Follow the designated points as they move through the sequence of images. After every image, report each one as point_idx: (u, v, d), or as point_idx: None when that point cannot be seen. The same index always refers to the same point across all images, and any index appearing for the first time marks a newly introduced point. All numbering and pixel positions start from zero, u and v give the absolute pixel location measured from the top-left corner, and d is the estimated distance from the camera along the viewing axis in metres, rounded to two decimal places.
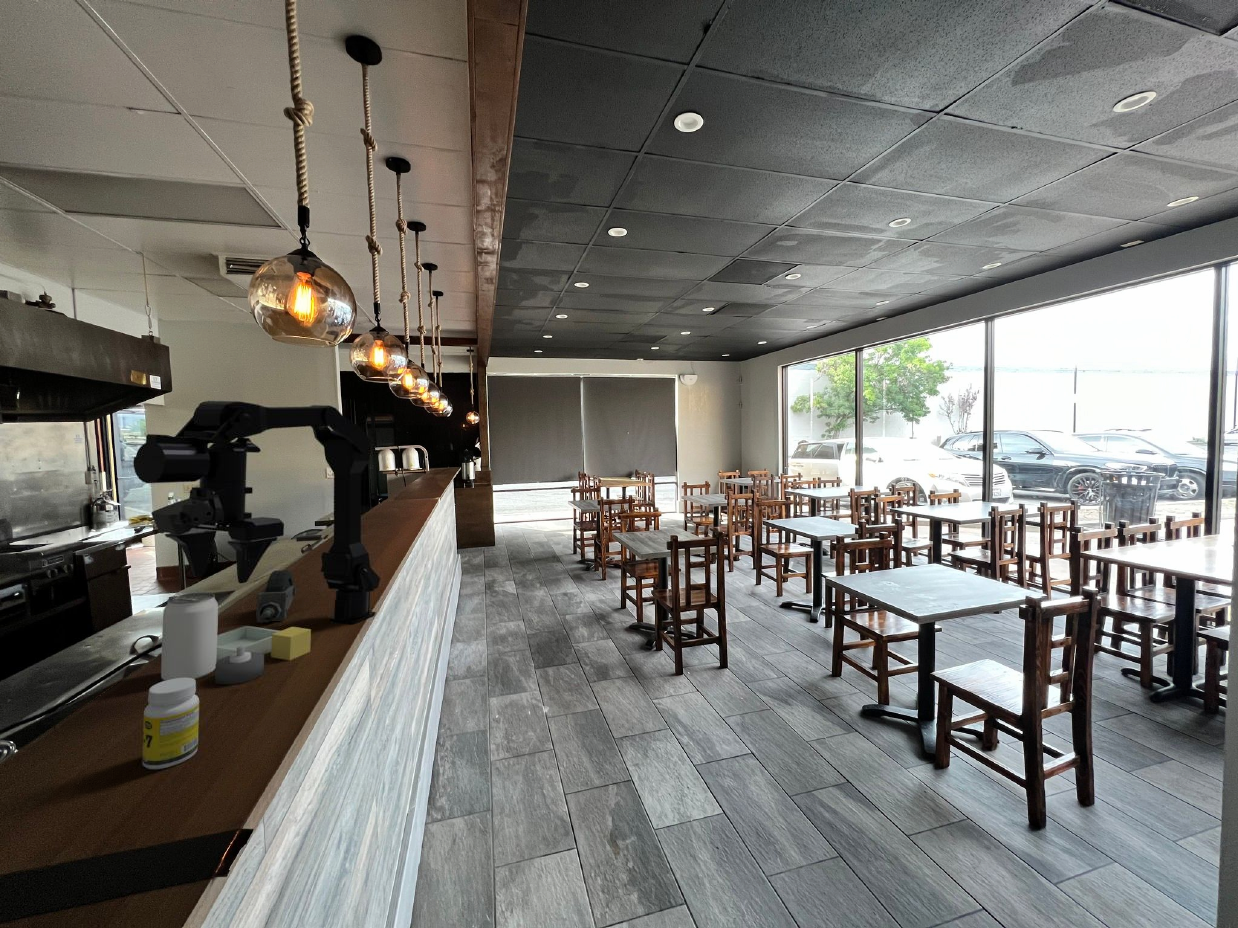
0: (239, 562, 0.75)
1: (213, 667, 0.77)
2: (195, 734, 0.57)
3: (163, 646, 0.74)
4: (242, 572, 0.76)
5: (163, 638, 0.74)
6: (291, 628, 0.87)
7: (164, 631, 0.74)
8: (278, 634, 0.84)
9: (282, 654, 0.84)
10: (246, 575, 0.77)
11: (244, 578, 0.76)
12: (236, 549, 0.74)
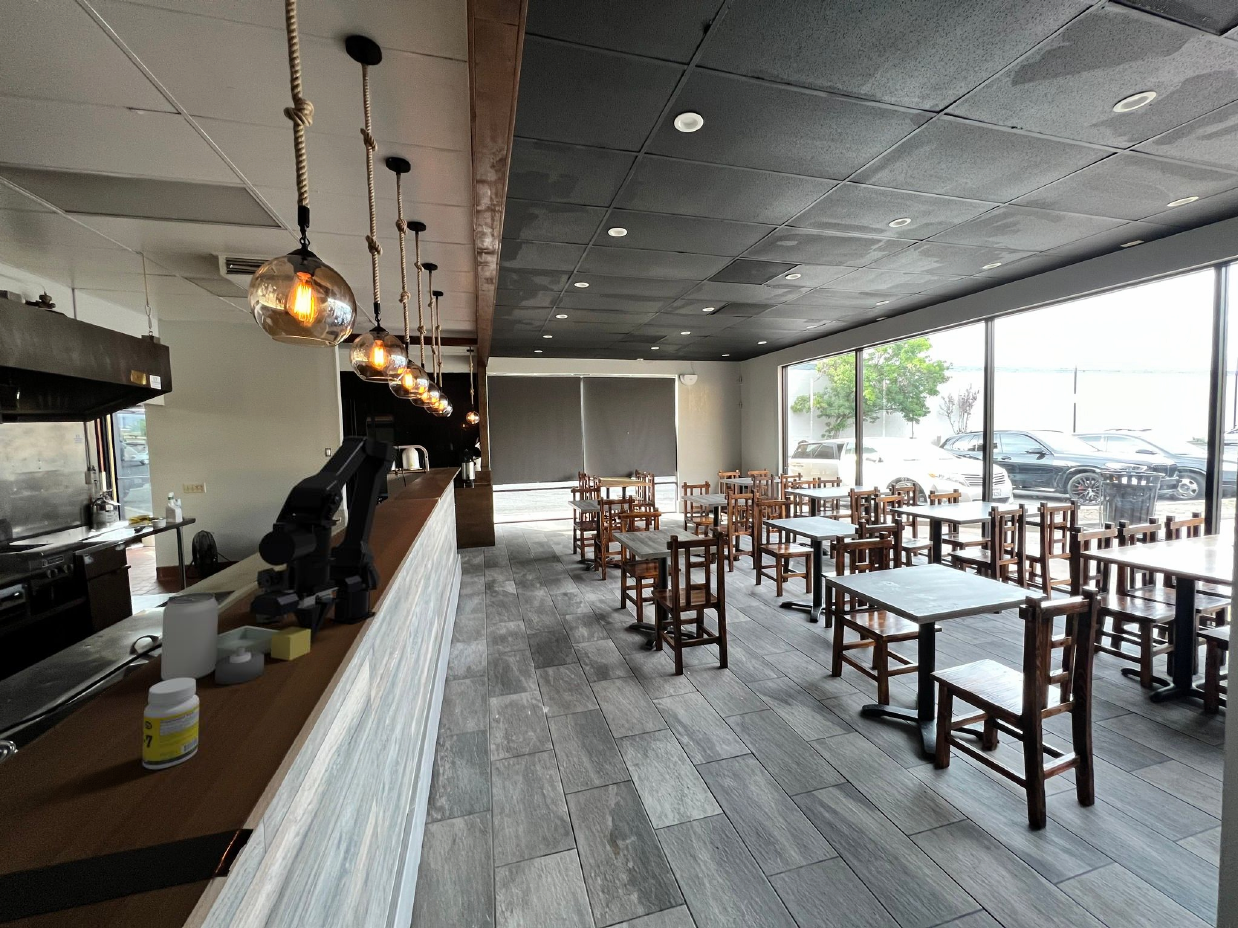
0: None
1: (213, 667, 0.77)
2: (195, 734, 0.57)
3: (163, 646, 0.74)
4: None
5: (163, 638, 0.74)
6: (291, 628, 0.87)
7: (164, 631, 0.74)
8: (278, 634, 0.84)
9: (282, 654, 0.84)
10: None
11: None
12: None
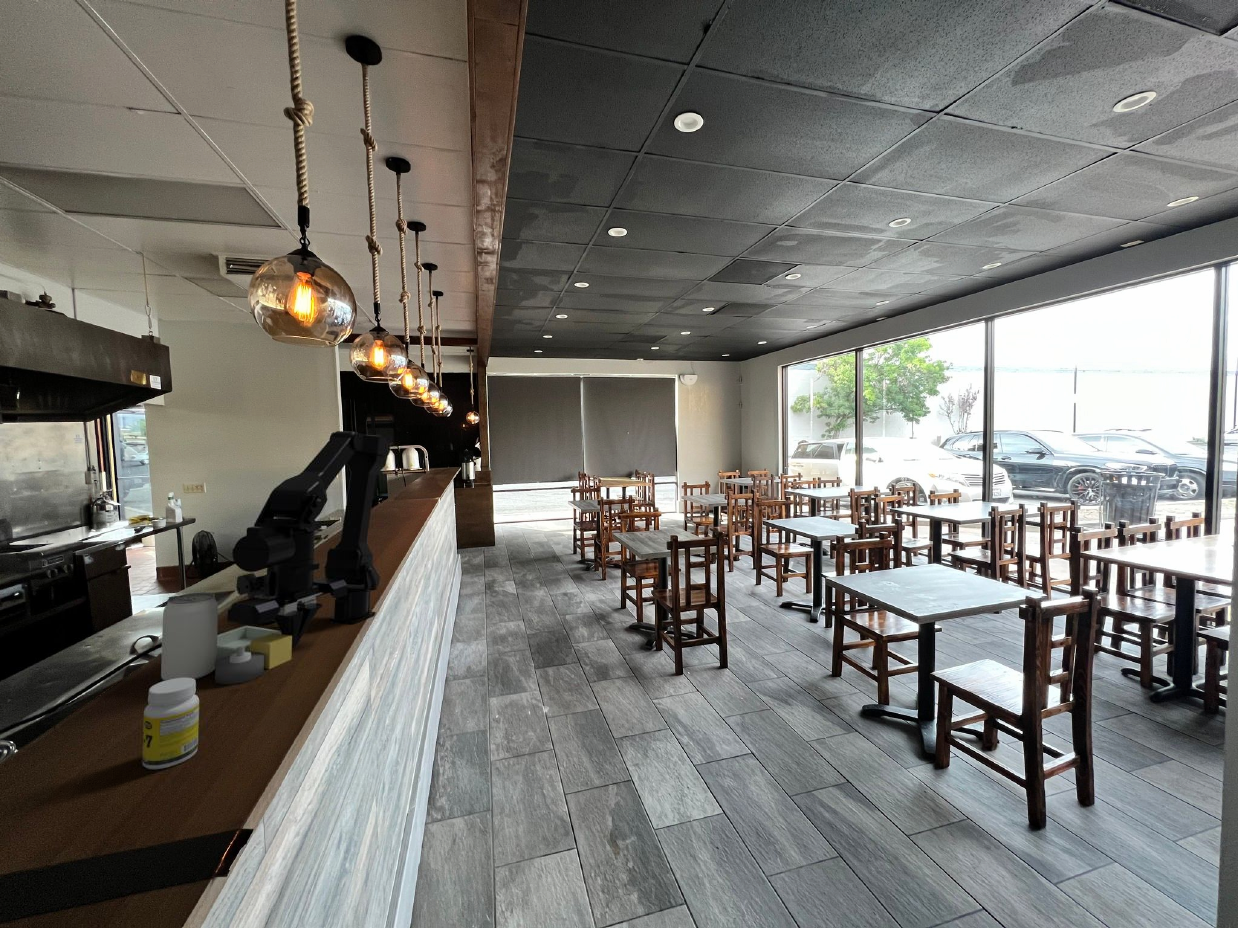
0: None
1: (213, 667, 0.77)
2: (195, 734, 0.57)
3: (163, 646, 0.74)
4: None
5: (163, 638, 0.74)
6: (271, 634, 0.83)
7: (164, 631, 0.74)
8: (257, 641, 0.81)
9: None
10: None
11: None
12: None
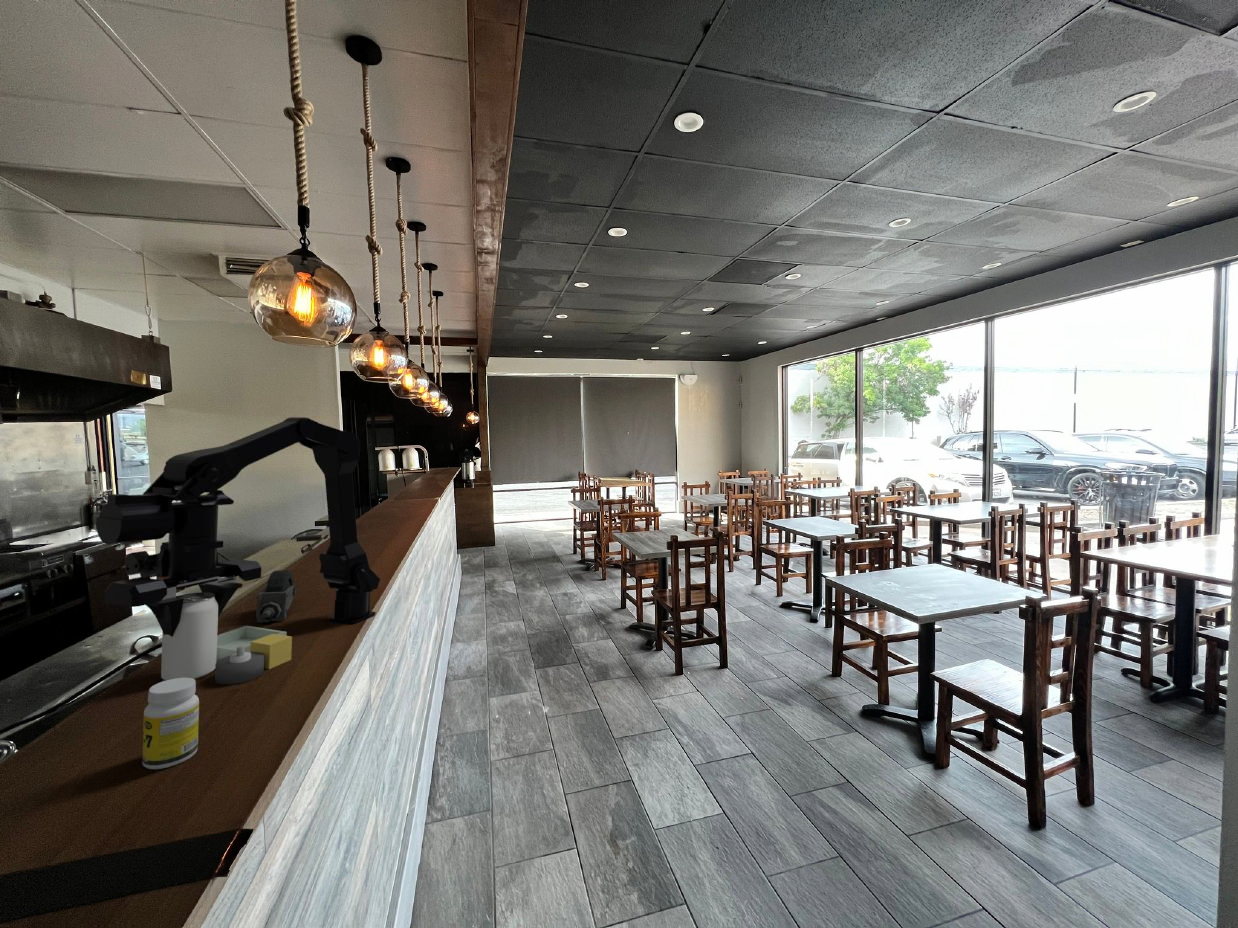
0: None
1: (213, 667, 0.77)
2: (195, 734, 0.57)
3: (163, 646, 0.74)
4: (163, 630, 0.73)
5: (163, 638, 0.74)
6: (271, 635, 0.83)
7: None
8: (257, 642, 0.81)
9: None
10: None
11: None
12: None
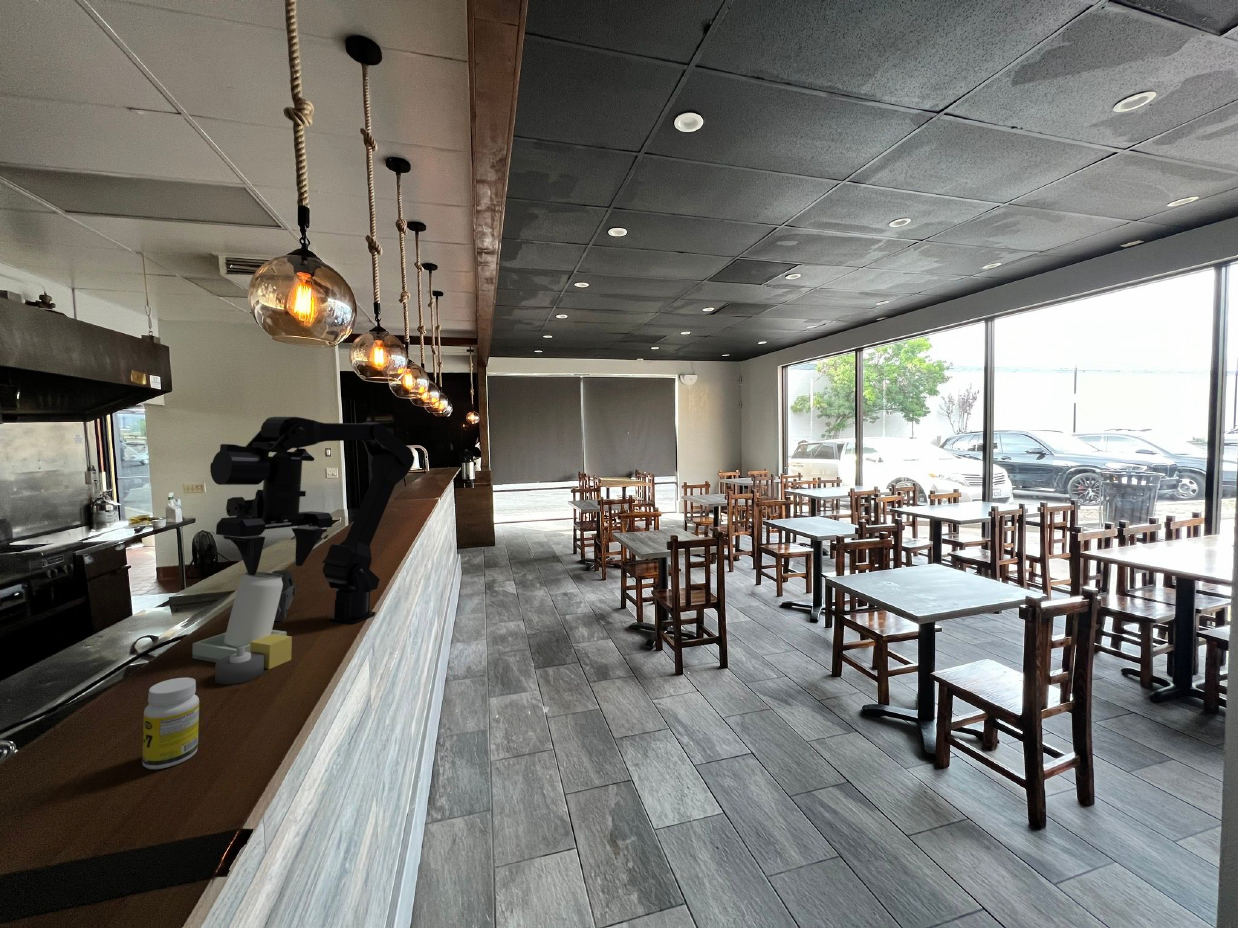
0: None
1: None
2: (195, 734, 0.57)
3: (233, 613, 0.84)
4: (245, 564, 0.85)
5: (235, 606, 0.84)
6: (271, 635, 0.83)
7: (237, 600, 0.84)
8: (257, 642, 0.81)
9: None
10: (250, 569, 0.85)
11: (250, 571, 0.85)
12: None
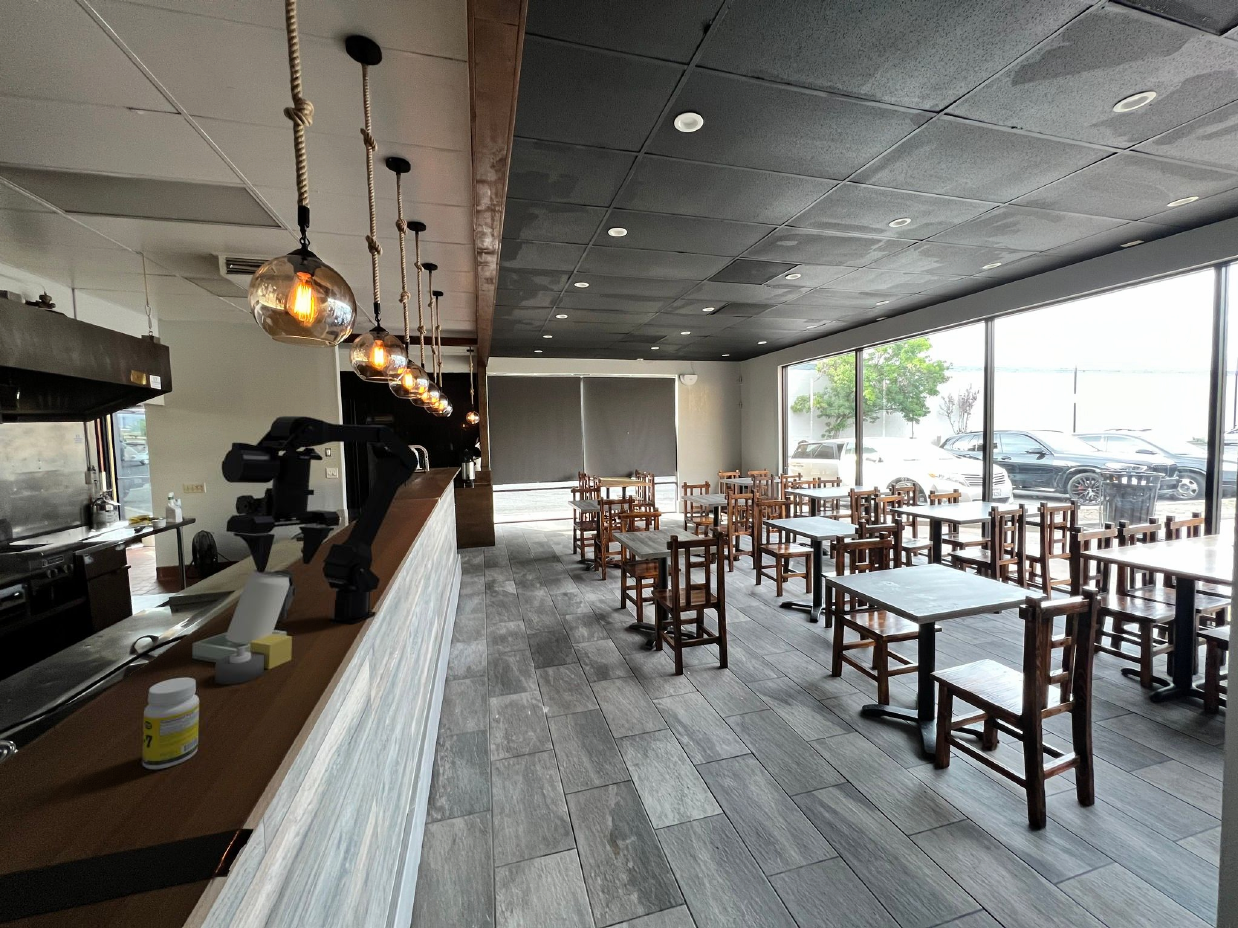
0: None
1: None
2: (195, 734, 0.57)
3: (238, 609, 0.85)
4: (255, 562, 0.86)
5: (240, 602, 0.85)
6: (271, 635, 0.83)
7: (244, 596, 0.85)
8: (257, 642, 0.81)
9: None
10: (259, 566, 0.86)
11: (260, 568, 0.86)
12: None
